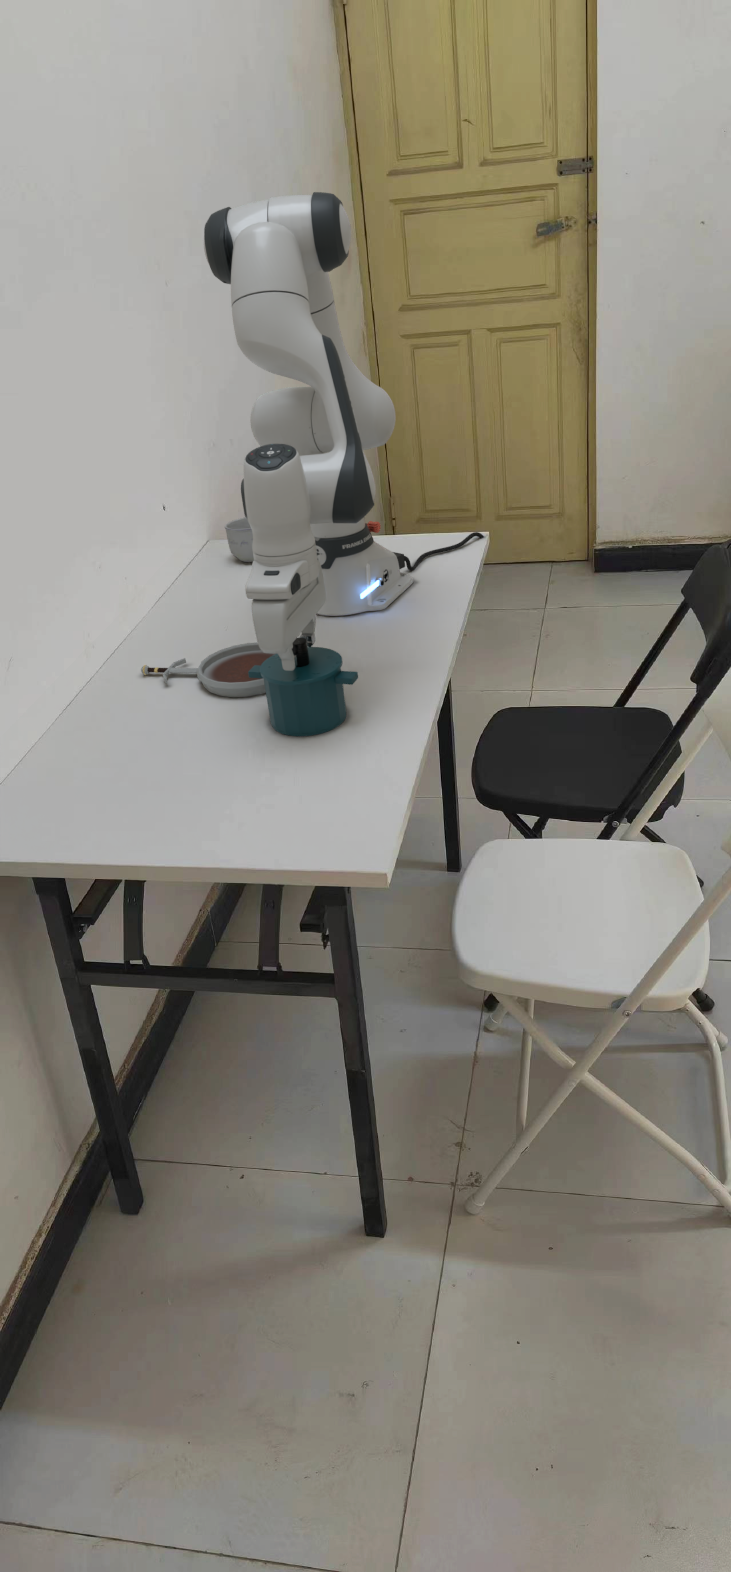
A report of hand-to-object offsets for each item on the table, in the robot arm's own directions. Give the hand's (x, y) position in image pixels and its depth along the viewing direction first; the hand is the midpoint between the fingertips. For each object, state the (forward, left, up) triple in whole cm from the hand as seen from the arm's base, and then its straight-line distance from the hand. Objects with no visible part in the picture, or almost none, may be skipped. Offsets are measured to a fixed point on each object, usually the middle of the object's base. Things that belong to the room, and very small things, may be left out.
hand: (299, 656), depth 163 cm
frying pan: (-6, -24, -10) cm, 27 cm away
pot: (0, 0, -10) cm, 10 cm away
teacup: (-56, -57, -10) cm, 81 cm away
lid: (0, 0, -2) cm, 2 cm away
